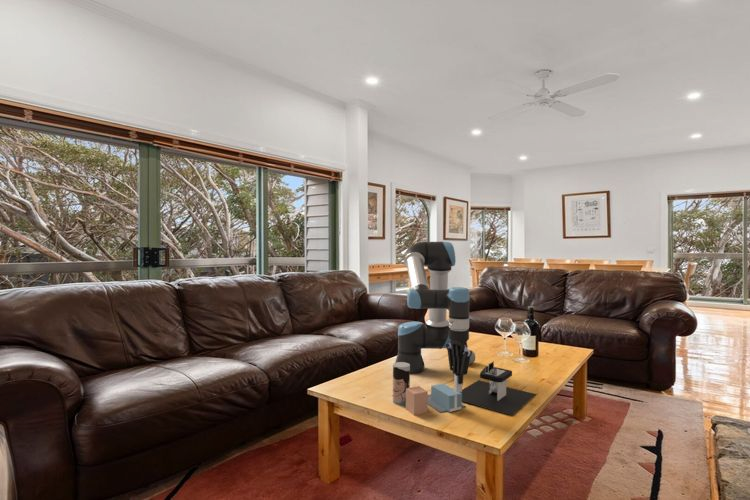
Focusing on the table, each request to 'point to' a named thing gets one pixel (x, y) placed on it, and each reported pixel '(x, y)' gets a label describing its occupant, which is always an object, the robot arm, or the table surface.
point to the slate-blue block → (446, 397)
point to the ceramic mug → (472, 357)
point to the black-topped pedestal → (495, 392)
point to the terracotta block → (416, 400)
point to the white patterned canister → (400, 382)
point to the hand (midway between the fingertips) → (458, 391)
